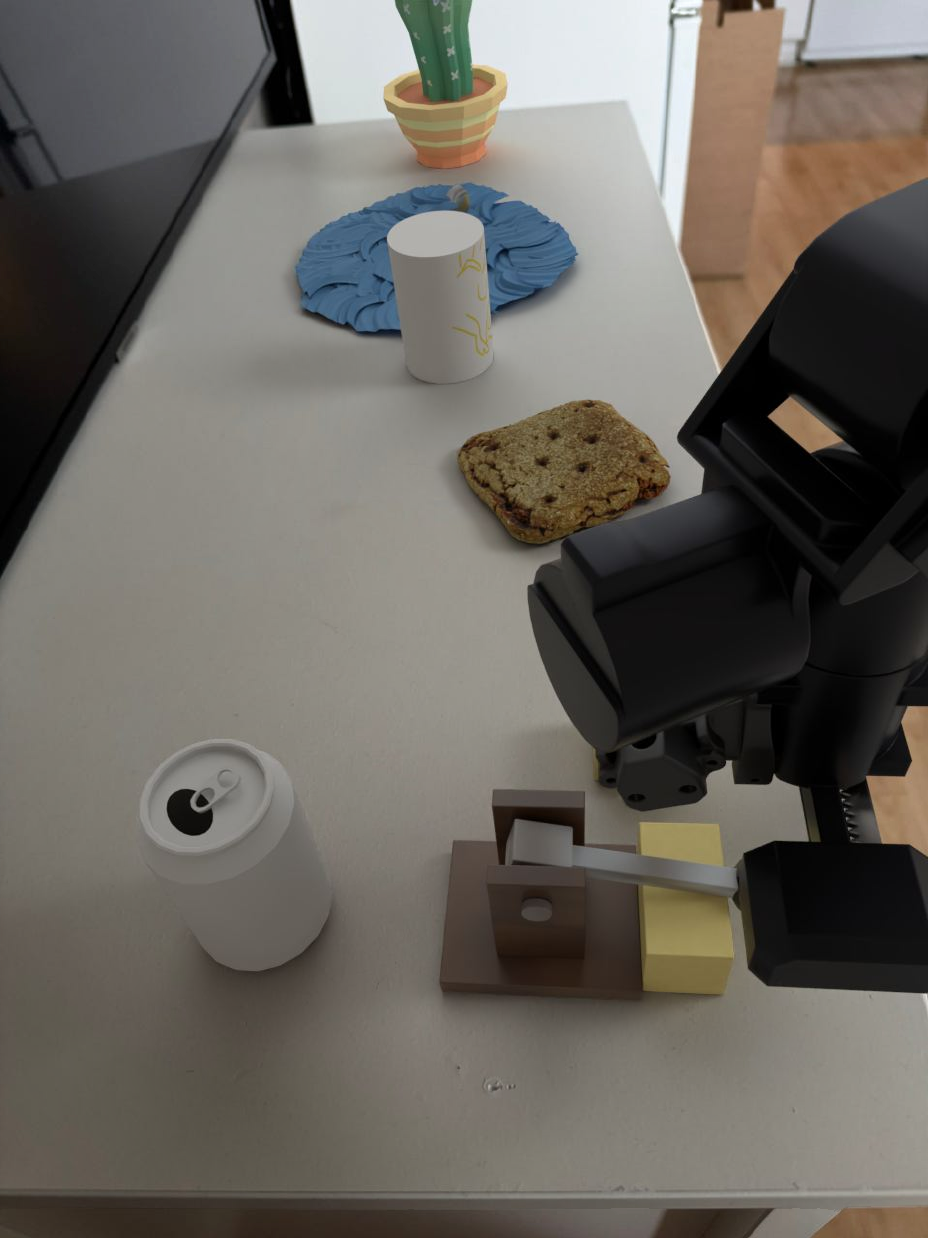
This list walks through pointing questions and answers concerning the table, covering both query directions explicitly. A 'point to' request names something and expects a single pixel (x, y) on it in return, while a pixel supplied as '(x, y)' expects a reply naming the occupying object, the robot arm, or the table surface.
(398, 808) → the table surface
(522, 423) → the pastry
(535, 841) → the blade
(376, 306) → the decorative plate
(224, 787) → the can
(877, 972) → the robot arm
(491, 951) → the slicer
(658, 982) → the butter
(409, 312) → the cup
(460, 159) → the potted cactus
